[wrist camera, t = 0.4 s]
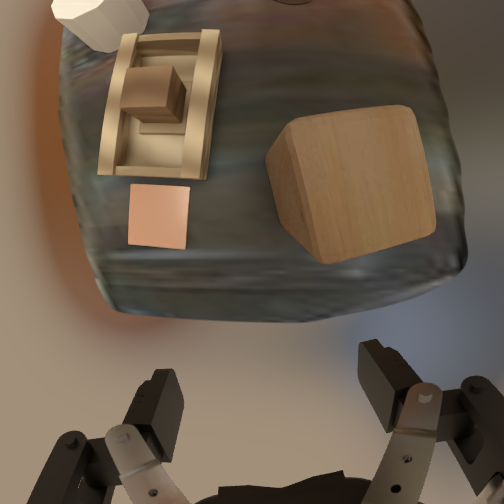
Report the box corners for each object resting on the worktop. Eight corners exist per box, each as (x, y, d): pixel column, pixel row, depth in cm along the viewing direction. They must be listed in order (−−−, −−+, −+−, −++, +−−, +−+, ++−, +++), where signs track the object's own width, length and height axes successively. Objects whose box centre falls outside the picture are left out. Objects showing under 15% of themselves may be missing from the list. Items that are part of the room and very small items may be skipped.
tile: (132, 183, 36) (131, 183, 36) (190, 186, 37) (189, 186, 36) (129, 243, 38) (128, 244, 38) (186, 248, 38) (185, 249, 38)
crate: (139, 54, 32) (122, 34, 26) (223, 53, 33) (219, 29, 26) (119, 176, 36) (97, 174, 30) (206, 180, 37) (199, 178, 30)
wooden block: (281, 229, 38) (320, 272, 19) (261, 154, 36) (282, 117, 17) (352, 211, 38) (442, 235, 19) (335, 139, 36) (415, 100, 17)
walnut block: (148, 90, 32) (126, 68, 24) (186, 89, 32) (172, 65, 24) (143, 123, 33) (118, 107, 25) (181, 123, 33) (165, 106, 25)
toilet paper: (139, -8, 30) (115, -50, 18) (157, 31, 32) (132, -13, 20) (83, 23, 30) (48, -10, 18) (96, 65, 32) (55, 34, 21)
